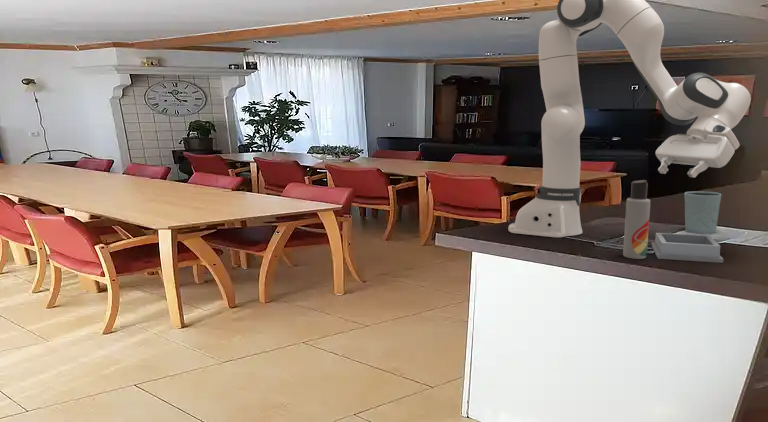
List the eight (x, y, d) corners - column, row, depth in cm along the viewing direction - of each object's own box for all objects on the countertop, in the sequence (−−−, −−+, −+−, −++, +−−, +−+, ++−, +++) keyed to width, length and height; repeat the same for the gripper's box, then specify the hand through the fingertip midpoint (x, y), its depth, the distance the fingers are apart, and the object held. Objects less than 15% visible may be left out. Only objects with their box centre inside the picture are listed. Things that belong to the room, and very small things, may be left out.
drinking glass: (721, 235, 183) (724, 196, 181) (684, 233, 186) (687, 194, 184) (713, 228, 192) (717, 191, 190) (679, 227, 195) (681, 190, 193)
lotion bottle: (650, 259, 155) (656, 181, 151) (628, 259, 154) (633, 181, 151) (640, 253, 160) (645, 178, 157) (619, 254, 160) (624, 179, 157)
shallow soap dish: (657, 258, 155) (658, 243, 155) (651, 245, 169) (652, 231, 169) (723, 262, 151) (724, 247, 150) (711, 249, 165) (712, 235, 164)
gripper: (668, 126, 169) (639, 162, 167) (735, 128, 150) (703, 169, 148) (679, 141, 171) (650, 177, 169) (746, 145, 152) (714, 186, 150)
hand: (675, 173), depth 158 cm, fingers open, 8 cm apart
